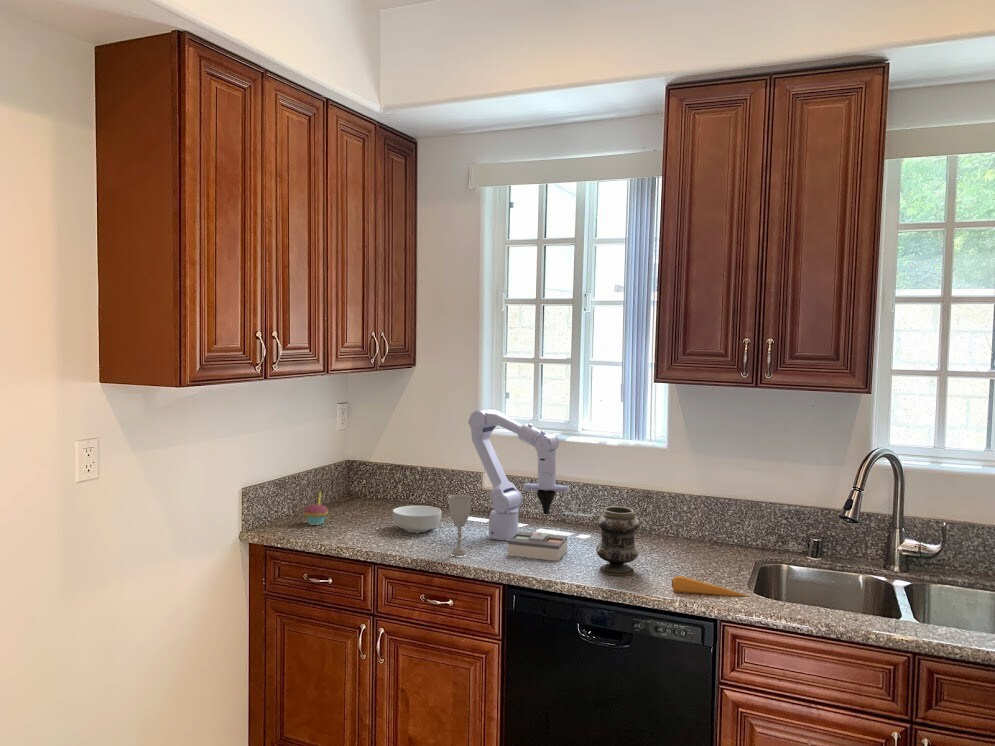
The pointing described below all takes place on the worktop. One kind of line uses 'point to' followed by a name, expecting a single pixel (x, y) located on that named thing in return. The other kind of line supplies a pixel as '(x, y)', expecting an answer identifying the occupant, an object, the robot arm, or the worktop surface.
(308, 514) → the cupcake
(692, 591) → the carrot
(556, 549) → the keypad
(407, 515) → the cereal bowl
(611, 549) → the apothecary jar
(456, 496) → the chalice
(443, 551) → the worktop surface
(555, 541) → the terracotta key
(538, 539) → the blue key
